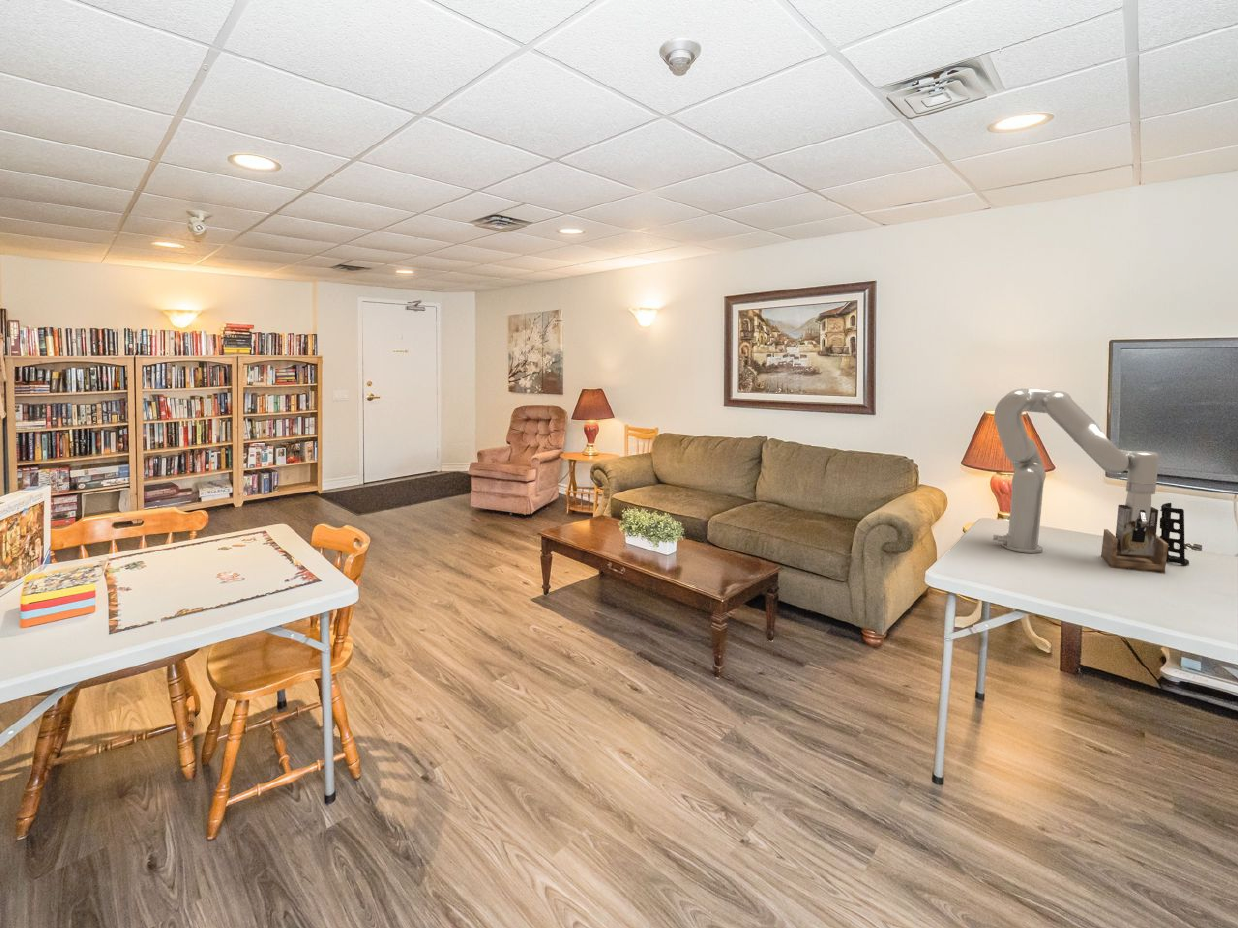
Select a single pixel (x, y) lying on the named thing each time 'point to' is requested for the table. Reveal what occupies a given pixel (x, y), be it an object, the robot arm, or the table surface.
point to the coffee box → (1126, 532)
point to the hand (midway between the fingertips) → (1134, 538)
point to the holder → (1168, 527)
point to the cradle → (1134, 561)
